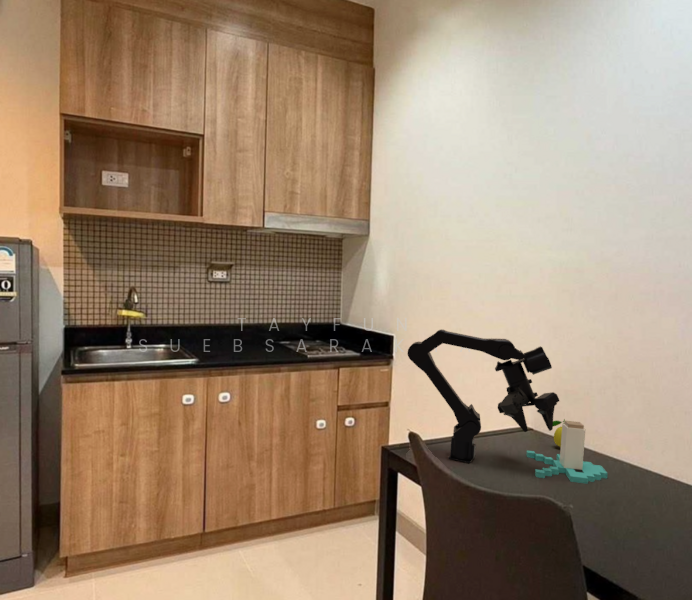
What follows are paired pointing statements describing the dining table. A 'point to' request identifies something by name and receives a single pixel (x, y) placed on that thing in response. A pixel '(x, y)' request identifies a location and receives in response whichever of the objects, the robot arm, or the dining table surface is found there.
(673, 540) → the dining table surface
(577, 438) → the canister
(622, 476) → the dining table surface
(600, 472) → the alien figure
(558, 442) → the lemon
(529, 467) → the dining table surface
